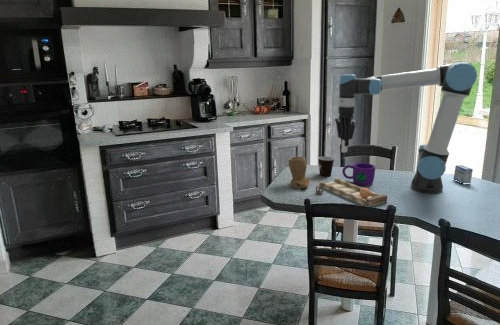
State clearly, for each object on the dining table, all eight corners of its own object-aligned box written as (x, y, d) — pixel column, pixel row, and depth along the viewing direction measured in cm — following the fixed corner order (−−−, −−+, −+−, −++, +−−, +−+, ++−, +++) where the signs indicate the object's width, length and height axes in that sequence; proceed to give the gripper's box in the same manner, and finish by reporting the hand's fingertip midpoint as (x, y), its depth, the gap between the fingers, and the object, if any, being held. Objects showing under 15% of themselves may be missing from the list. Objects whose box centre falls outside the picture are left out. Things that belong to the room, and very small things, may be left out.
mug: (376, 182, 213) (377, 164, 210) (370, 188, 204) (372, 169, 201) (345, 177, 222) (346, 160, 219) (338, 182, 212) (339, 165, 210)
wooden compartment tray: (386, 202, 185) (387, 195, 184) (368, 207, 179) (369, 200, 178) (336, 182, 213) (336, 176, 212) (319, 186, 207) (319, 179, 206)
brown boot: (290, 179, 218) (290, 153, 214) (311, 181, 215) (312, 154, 211) (284, 188, 204) (285, 160, 200) (307, 190, 201) (308, 162, 197)
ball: (367, 198, 190) (374, 194, 186) (360, 200, 187) (366, 196, 183) (362, 189, 191) (369, 185, 187) (355, 191, 189) (361, 187, 185)
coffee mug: (332, 177, 220) (334, 160, 218) (317, 176, 222) (318, 160, 219) (332, 171, 231) (333, 155, 228) (318, 170, 233) (318, 154, 230)
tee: (323, 193, 196) (324, 187, 195) (318, 195, 194) (319, 188, 193) (319, 191, 199) (319, 185, 198) (314, 193, 197) (315, 186, 196)
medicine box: (452, 180, 216) (455, 165, 213) (459, 179, 217) (462, 164, 214) (463, 185, 208) (466, 169, 206) (470, 184, 209) (473, 168, 207)
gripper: (331, 105, 198) (330, 150, 204) (351, 108, 188) (348, 155, 194) (342, 104, 202) (340, 148, 208) (361, 106, 192) (359, 153, 198)
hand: (344, 151), depth 201 cm, fingers closed
